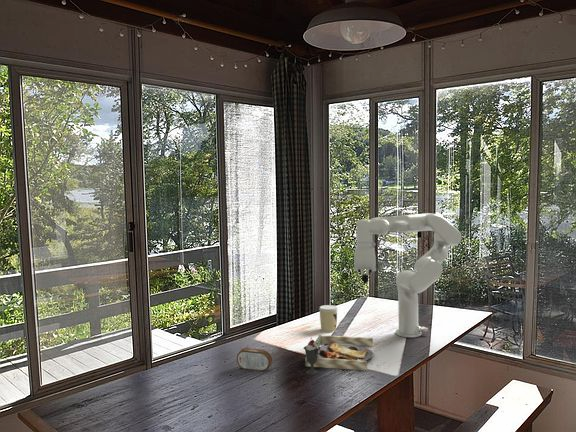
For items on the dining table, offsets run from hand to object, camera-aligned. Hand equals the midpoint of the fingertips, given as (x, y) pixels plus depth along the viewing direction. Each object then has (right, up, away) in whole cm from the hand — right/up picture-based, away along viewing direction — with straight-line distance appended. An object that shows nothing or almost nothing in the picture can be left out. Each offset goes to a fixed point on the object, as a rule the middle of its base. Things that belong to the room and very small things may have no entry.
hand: (365, 282), depth 234 cm
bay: (-14, -29, -21) cm, 39 cm away
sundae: (-28, -31, -41) cm, 58 cm away
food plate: (-13, -29, -23) cm, 40 cm away
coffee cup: (-16, -27, +16) cm, 35 cm away
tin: (-51, -31, -36) cm, 70 cm away
